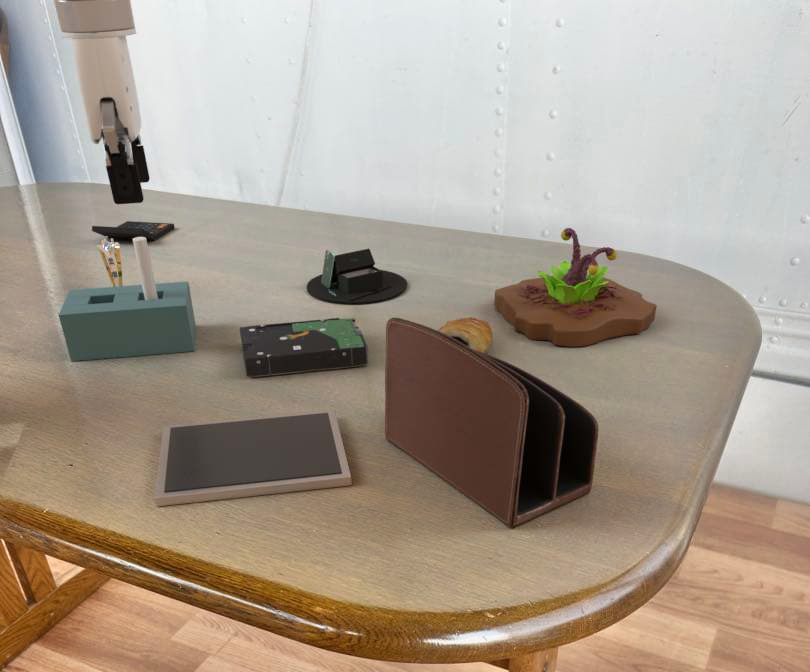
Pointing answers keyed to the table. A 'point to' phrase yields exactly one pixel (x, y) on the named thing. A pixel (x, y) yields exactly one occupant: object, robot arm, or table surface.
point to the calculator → (135, 230)
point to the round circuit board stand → (355, 280)
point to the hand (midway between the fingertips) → (133, 192)
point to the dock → (128, 321)
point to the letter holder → (485, 424)
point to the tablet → (251, 457)
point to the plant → (574, 303)
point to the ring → (111, 260)
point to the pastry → (470, 333)
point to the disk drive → (302, 346)
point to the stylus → (145, 268)
